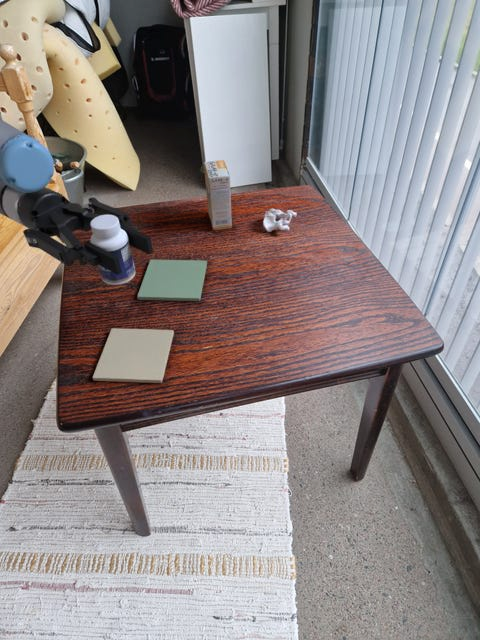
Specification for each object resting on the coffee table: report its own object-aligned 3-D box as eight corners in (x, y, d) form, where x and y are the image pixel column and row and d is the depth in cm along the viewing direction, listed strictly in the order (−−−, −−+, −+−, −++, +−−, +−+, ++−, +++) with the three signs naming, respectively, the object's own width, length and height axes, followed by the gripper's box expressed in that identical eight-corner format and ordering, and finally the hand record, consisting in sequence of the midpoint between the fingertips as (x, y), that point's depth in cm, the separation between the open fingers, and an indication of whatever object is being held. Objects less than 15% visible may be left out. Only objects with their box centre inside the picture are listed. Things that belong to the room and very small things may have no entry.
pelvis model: (289, 223, 92) (260, 216, 93) (286, 239, 95) (258, 232, 96) (298, 205, 97) (271, 199, 99) (295, 221, 100) (269, 214, 102)
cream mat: (93, 380, 66) (92, 377, 66) (112, 331, 74) (111, 328, 74) (162, 383, 66) (161, 380, 65) (174, 333, 74) (173, 329, 73)
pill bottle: (95, 283, 65) (77, 229, 58) (110, 263, 69) (95, 210, 62) (127, 288, 64) (113, 233, 58) (141, 267, 68) (129, 213, 61)
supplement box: (207, 213, 103) (202, 161, 94) (226, 211, 104) (224, 159, 94) (212, 231, 97) (207, 177, 88) (232, 228, 98) (230, 175, 89)
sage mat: (137, 299, 80) (136, 296, 80) (150, 262, 89) (150, 259, 88) (200, 301, 80) (199, 298, 79) (207, 263, 88) (207, 260, 88)
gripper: (88, 206, 78) (181, 247, 68) (-3, 253, 68) (89, 310, 58) (77, 167, 73) (175, 205, 63) (-24, 211, 63) (73, 265, 52)
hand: (134, 255), depth 60 cm, fingers closed on pill bottle, 5 cm apart
